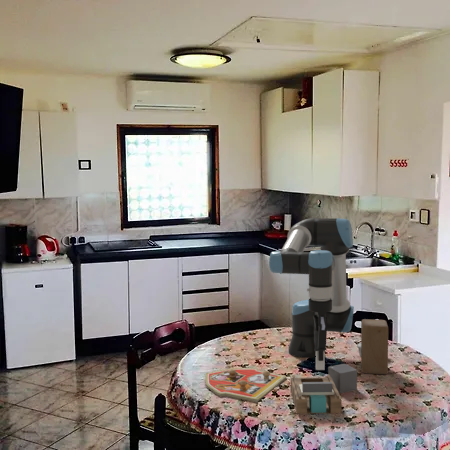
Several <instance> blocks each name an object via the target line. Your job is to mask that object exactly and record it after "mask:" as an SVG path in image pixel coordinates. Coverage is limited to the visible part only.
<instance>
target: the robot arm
mask: <svg viewBox="0 0 450 450" xmlns="http://www.w3.org/2000/svg"><path fill="white" fill-rule="evenodd" d="M353 245H354V239H353V229H352V224H351V221H350V220H349V219H348V218H340V217H337V218H334V217H333V218H330V217H329V218H327V217H326V218H324V217H323V218H322V217H321V218H320V217H319V218H318V217H317V218H315V217H311V218H310V217H309V218H306V219H303V220H301V221H299V222H297V223H295V224H294V225H292V226H291V228H290V229H289V231H288V232H287V239H286V241H285V243H284V244H283V246H282V248H281V249H280V250H279V251H271V252H270V254H269V261H268V263H269V264H268V265H269V270H270V272H271V273H273V274H280V275H282V274H283V275H284V274H287V275H288V274H289V275H293V274H294V275H308V288H306V292H308V299H303V300H300V301H297V302H295V303H293V305H292V309H291V310H292V311H291V312H292V313H291V315H292V316H291V319H292V321H291V322H292V326H291V328H292V334H291V335H292V336H291V339H290V341H289V345H288V353H289V354H290V355H291V356H294V357H297V358H298V357H299V358H306V359H311V358H315V371H325V367H326V366H325V365H326V363H325V361H326V360H325V356H326V354H325V353H326V352H325V351H327V337H328V336H327V333H328V332H335V333H349V332H350V331H352V330H351V329H352V325H353V319H354V317H353V316H354V306H353V305H351V303H350V300H349V299H347V261H346V260H347V259H346V258H347V257H346V255H347V254H348V253H349V251H350V248H353ZM307 247H316V248H317V247H320V249H319V250H318V249H317V250H311V251H310V252H309V251H308V252H306V251H305V248H307ZM304 251H305V252H304ZM315 356H316V357H315Z"/></svg>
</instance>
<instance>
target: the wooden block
mask: <svg viewBox="0 0 450 450" xmlns="http://www.w3.org/2000/svg"><path fill="white" fill-rule="evenodd" d="M360 326H361V327H360V328H361V331H360V333H361V335H360V336H361V337H360V339H361V340H360V343H361V357H360V366H361V372H362V373H363V374H370V375H388V372H389V366H388V365H389V326H388V323H387V320H385V319H368V318H367V319H366V318H364V319H361V325H360Z"/></svg>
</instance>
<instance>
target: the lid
mask: <svg viewBox="0 0 450 450" xmlns="http://www.w3.org/2000/svg"><path fill="white" fill-rule="evenodd" d="M299 389H300V392H301V395H334V391H333V389H332V382H302V384H299Z"/></svg>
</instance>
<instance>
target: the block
mask: <svg viewBox="0 0 450 450" xmlns="http://www.w3.org/2000/svg"><path fill="white" fill-rule="evenodd" d="M309 407H310V410H311V413H319V414H327V413H326V396H325V395H309Z"/></svg>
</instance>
